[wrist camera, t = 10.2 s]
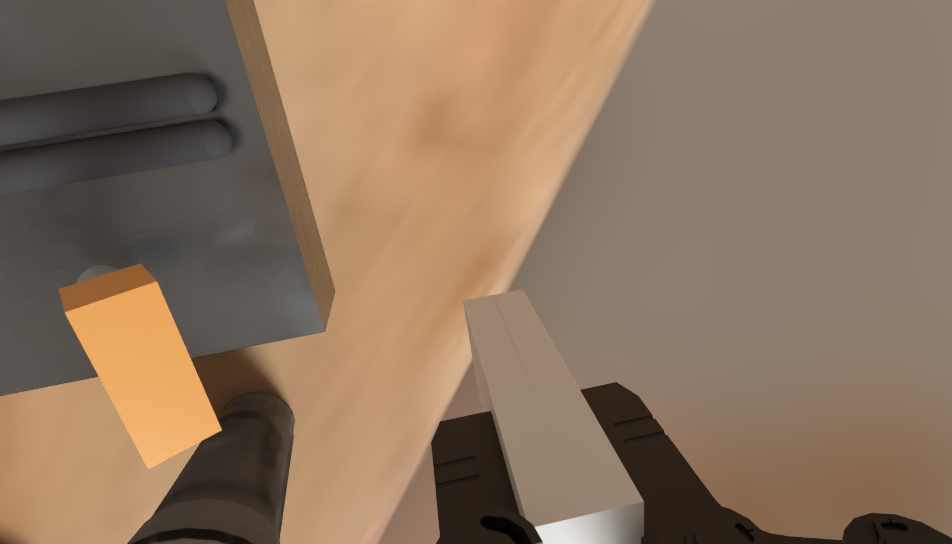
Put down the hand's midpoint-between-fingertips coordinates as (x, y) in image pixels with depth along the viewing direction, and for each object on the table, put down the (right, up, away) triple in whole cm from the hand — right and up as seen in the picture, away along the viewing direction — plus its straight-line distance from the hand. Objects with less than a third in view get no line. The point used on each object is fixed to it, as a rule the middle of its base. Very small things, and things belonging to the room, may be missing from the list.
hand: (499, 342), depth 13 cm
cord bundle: (-19, +7, +8) cm, 21 cm away
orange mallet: (-17, +1, +9) cm, 19 cm away
